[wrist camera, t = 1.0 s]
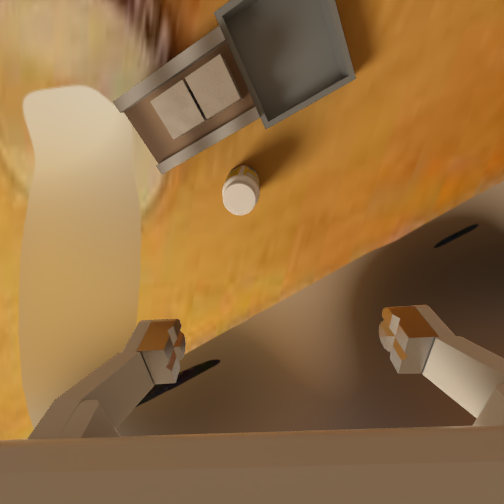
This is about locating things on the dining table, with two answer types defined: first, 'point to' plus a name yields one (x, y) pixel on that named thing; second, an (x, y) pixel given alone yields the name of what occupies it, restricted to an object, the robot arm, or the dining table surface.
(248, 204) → the supplement bottle
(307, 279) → the dining table surface
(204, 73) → the beige cube
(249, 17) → the bin
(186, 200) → the dining table surface
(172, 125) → the grey small cube
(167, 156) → the channel block
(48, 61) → the dining table surface
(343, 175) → the dining table surface
